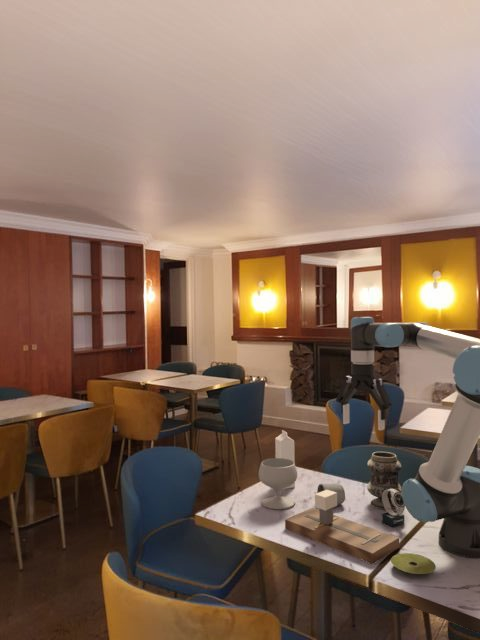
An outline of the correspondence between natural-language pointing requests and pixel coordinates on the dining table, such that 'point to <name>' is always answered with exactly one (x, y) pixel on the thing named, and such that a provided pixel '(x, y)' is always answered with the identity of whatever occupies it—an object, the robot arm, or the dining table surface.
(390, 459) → the apothecary jar
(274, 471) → the chalice
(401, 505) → the watch
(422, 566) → the mat
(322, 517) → the fader knob
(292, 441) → the milk
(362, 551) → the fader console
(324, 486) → the ceramic mug
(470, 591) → the dining table surface
